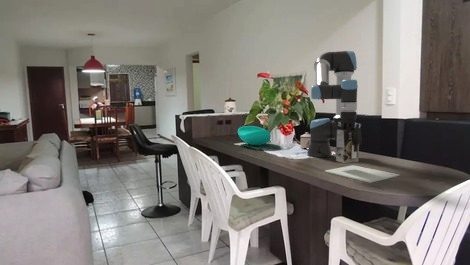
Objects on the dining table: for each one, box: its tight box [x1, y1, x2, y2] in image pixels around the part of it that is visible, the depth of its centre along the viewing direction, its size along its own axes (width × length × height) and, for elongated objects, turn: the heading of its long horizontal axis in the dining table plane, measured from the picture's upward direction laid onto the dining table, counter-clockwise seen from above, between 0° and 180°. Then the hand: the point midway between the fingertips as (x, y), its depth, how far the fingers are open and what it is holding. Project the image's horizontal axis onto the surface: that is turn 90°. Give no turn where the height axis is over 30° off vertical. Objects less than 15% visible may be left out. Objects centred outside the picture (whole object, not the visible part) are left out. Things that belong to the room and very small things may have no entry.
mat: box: [323, 164, 400, 184], centre depth 159 cm, size 26×22×1 cm
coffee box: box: [335, 128, 360, 164], centre depth 165 cm, size 9×6×16 cm
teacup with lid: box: [300, 131, 310, 149], centre depth 238 cm, size 12×9×12 cm
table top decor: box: [237, 125, 271, 146], centre depth 256 cm, size 40×28×13 cm
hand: (347, 156), depth 165 cm, fingers closed on coffee box, 7 cm apart
